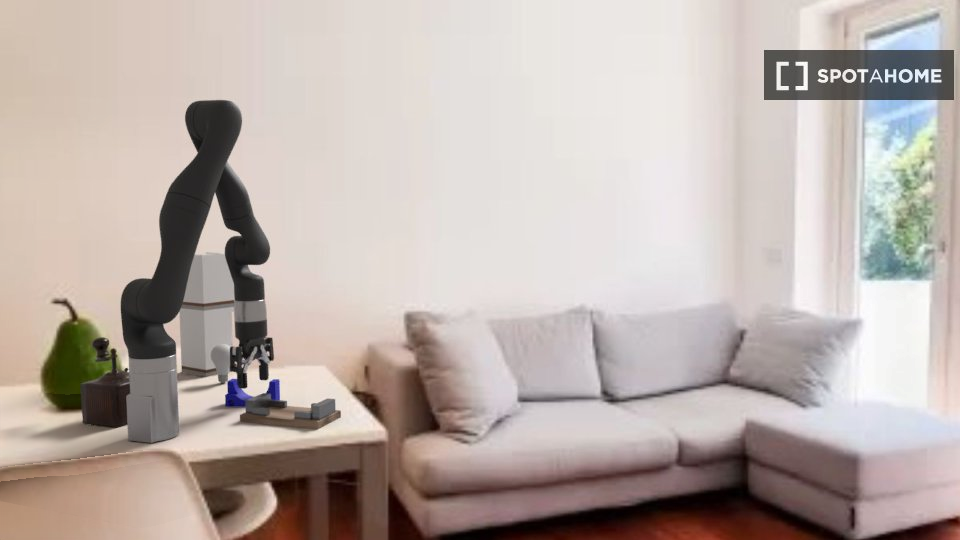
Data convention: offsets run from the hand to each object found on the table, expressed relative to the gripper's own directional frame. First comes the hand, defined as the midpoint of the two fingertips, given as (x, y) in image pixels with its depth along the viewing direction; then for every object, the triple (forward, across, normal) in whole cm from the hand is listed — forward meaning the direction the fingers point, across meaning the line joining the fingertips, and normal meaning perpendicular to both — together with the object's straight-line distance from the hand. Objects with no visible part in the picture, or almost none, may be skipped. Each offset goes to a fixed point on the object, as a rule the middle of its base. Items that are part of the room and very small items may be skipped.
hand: (253, 383), depth 185 cm
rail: (+5, -8, -16) cm, 19 cm away
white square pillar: (+6, +29, +37) cm, 47 cm away
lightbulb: (+6, +17, +23) cm, 29 cm away
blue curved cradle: (+6, 0, +1) cm, 6 cm away
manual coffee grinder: (+5, -21, +24) cm, 32 cm away
